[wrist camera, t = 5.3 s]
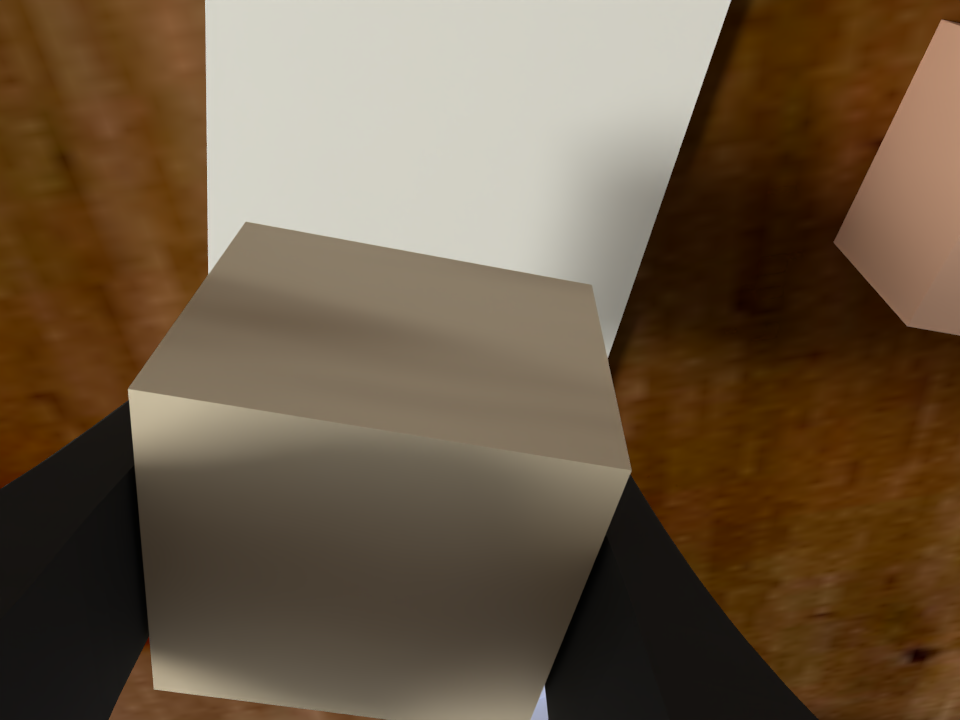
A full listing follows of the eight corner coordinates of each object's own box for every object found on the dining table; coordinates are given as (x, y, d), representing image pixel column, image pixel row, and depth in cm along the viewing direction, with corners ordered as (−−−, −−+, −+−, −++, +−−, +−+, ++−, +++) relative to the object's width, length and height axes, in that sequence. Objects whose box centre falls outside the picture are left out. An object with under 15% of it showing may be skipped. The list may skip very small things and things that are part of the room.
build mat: (553, 499, 23) (554, 513, 22) (216, 447, 22) (210, 461, 21) (761, -118, 14) (771, -117, 13) (213, -248, 13) (202, -251, 13)
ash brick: (517, 523, 14) (523, 736, 10) (240, 481, 13) (154, 689, 10) (591, 285, 11) (631, 470, 8) (245, 221, 11) (127, 388, 7)
